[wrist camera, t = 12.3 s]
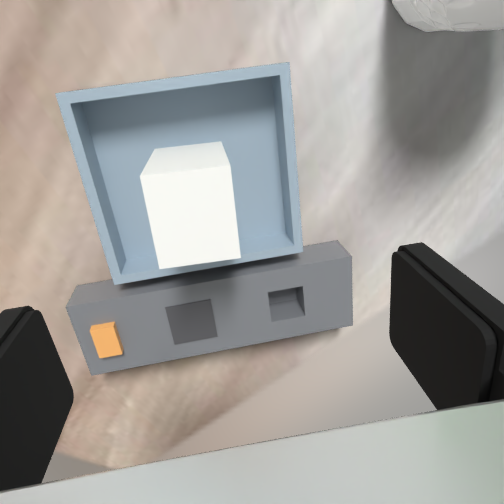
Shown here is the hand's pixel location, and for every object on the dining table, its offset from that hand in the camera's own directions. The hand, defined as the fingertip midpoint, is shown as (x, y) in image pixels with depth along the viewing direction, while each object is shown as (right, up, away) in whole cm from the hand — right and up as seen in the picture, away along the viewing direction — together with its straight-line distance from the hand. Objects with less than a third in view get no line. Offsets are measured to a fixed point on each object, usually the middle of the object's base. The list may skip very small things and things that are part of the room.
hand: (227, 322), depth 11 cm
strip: (-2, -2, +21) cm, 21 cm away
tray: (-3, +7, +17) cm, 19 cm away
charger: (-3, +7, +16) cm, 18 cm away
